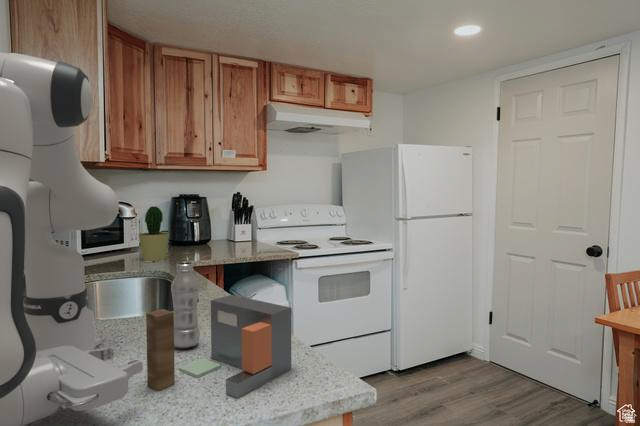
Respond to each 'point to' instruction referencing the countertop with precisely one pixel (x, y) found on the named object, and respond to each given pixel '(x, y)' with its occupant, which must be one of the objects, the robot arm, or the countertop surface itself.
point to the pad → (199, 367)
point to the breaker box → (227, 339)
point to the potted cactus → (154, 237)
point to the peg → (160, 349)
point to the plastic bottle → (185, 306)
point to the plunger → (256, 347)
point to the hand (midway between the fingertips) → (125, 358)
